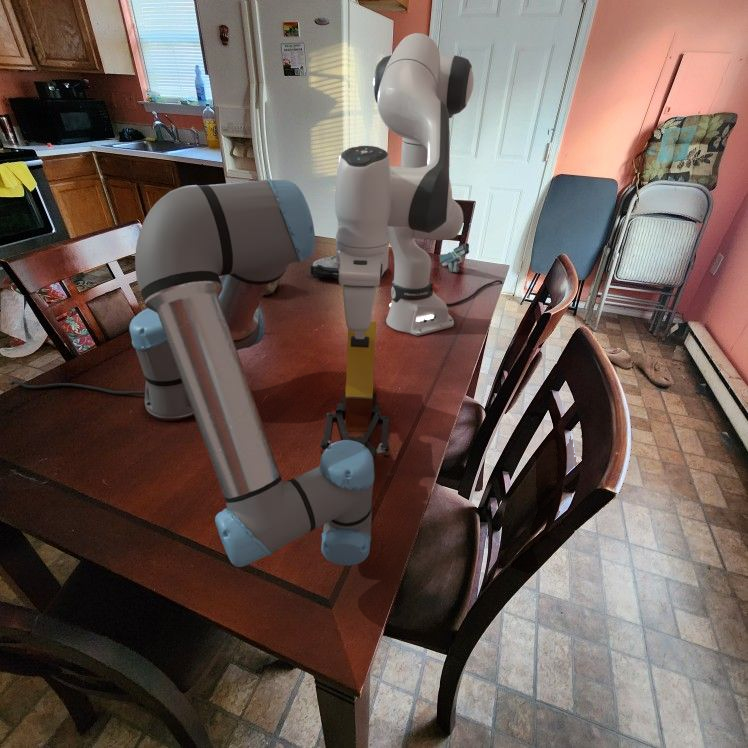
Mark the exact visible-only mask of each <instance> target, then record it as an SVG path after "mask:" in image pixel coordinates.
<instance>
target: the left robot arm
mask: <svg viewBox="0 0 748 748" xmlns="http://www.w3.org/2000/svg"><path fill="white" fill-rule="evenodd" d="M310 209H311V208H310V207H309V204H308V202H307V198H306V197H305V195H304V193H303V191H302V190H301V188H300V187H299V186H298V185H297V184H296V183H294V182H293V181H291V180H289V179H272V178H267V179H261V180H249V181H239V182H227V183H216V184H205V185H204V184H203V185H197V184H194V185H193V184H192V185H184V186H181V187H178V188H175V189H173V190H170V191H168V192H167V193H166V194H165V195H163V196H162V197H161V198H160V199H158V200H157V201H156V202H155V204H153V206H152V207H151V209H149V211H148V213H147V214H146V216H145V218H144V220H143V223H142V225H141V228H140V230H139V233H138V237H137V242H136V246H135V256H134V265H135V277H136V282H137V286H138V289H139V292H140V295H141V298H142V301H143V303H144V305H145V307H146V308H145V309H143V310H141V311H140V312H138V314H136V315H135V316H134V317H133V318H132V319H131V321H130V323H129V329H128V330H129V333H130V337H131V345H132V346H133V348H134V349H135V352H136V355H137V358H138V361H139V364H140V367H141V370H142V373H143V376H144V379H145V389H144V390H142V391H141V390H130V391H129V390H128V391H120V390H112V389H107V388H102V387H97V386H93V385H87V384H81V383H80V384H79V383H72V382H71V383H70V382H60V383H59V382H58V383H49V384H42V385H29V384H26V383H24V382H23V381H22V382H21V381H19V380H16V379H15V380H14V379H13V380H12V381H11V382H10V383H9V385H11V386H14V385H15V384H16V385H18V386H20V387H23V388H25V389H31V390H38V389H39V390H40V389H49V388H57V387H73V388H82V389H87V390H93V391H98V392H103V393H107V394H112V395H121V396H122V395H123V396H125V395H144V406H145V409H146V413H147V414H148V415H149V416H150V417H151V418H153V419H155V420H157V421H162V422H179V421H184V420H188V419H191V418H193V417H194V418H195V421H196V424H197V426H198V429H199V432H200V435H201V438H202V441H203V444H204V447H205V449H206V451H207V454H208V457H209V460H210V462H211V465H212V468H213V471H214V474H215V476H216V480H217V482H218V485H219V487H220V489H221V493H222V495H223V498H224V500H225V504H226V507H225V508H224V509H222V511H219V512H218V513H217V514H216V515H215V518H214V523H215V526H216V528H217V531H218V535H219V538H220V540H221V543H222V546H223V548H224V551H225V554H226V555H227V558H228V559H229V561H230V563H231V564H232V565H233V566H234V567H237V568H243V567H246V566H248V565H250V564H252V563H254V562H257V561H258V560H261V559H263V558H265V557H267V556H271V555H273V553H274V552H276V551H278V550H280V549H281V548H283V547H285V546H287V545H289V544H291V543H293V542H294V541H296V540H297V539H299V538H301V537H302V536H305V535H307V534H308V533H311V532H313V531H314V530H317V529H319V528H321V527H322V526H323V528H322V529H323V530H322V533H321V547H320V549H321V550H320V551H321V554H322V555H323V557H324V558H325V559H326V560H327V561H329V562H330V563H332V564H334V565H338V566H348V567H349V566H351V567H352V566H355V565H359V564H361V563H363V562H364V561H365V560H367V558H368V556H369V555H370V549H371V541H372V515H373V496H374V495H373V492H374V482H375V478H376V477H375V460H376V459H377V457H381V456H382V457H383V458H385V459H388V458H389V457H390V451H391V447H390V444H389V441H388V435H389V422H390V416H389V415H386V414H385V415H382V414H381V411H382V410H381V409H382V407H381V405H380V404H377V403H376V402H377V393H376V392H373V398H372V414H371V423H370V425H369V427H368V429H367V431H364V432H363V435H362V436H357V437H356V436H350V434H349V431H347V429H346V422H345V421H346V391H344V392H343V398H342V403H340V402H339V403H337V405H336V409H335V413H332V412H328V413H326V419H325V428H324V435H323V436H324V437H323V438H322V440H321V441H320V443H319V447H320V448H319V449H320V454H321V457H320V462H319V466H317V467H315V468H313V469H311V470H308V471H307V472H304V473H302V474H299V475H298V476H295V477H293V478H291V479H288V480H287V481H283V478H282V475H281V471H280V469H279V466H278V463H277V460H276V456H275V454H274V452H273V449H272V445H271V443H270V440H269V437H268V434H267V432H266V430H265V427H264V423H263V421H262V418H261V415H260V412H259V409H258V406H257V404H256V401H255V398H254V396H253V393H252V390H251V386H250V384H249V381H248V378H247V374H246V372H245V370H244V367H243V364H242V361H241V358H240V356H239V353H238V350H243V349H249V348H252V347H253V346H255V345H257V344H259V343H260V342H261V341H262V340H263V339H264V335H265V329H264V328H265V319H264V315H263V312H262V310H261V307H260V306H259V305H260V304H261V301H262V299H263V298H264V296H265V295H264V293H265V291H266V289H267V286H268V284H271V283H273V282H275V281H277V280H278V279H279V278H280V279H281V277H282V276H283V275H284V274H285V273H286V271H287V269H288V268H289V265H290V264H293V263H299V264H300V263H303V262H304V261H307V260H309V259H311V258H312V257H313V255H314V253H315V248H316V234H315V233H316V232H315V227H314V220H313V217H312V213H311V210H310ZM21 385H22V386H21ZM335 423H336V427H337V431H338V435H339V438H340V440H337V441H334V442H332V437H333V436H332V435H333V426H334V424H335ZM380 426H381V436H380V439H381V440H380V443H379V444H377V445H378V446H377V448H376V447H374V445H372V441H373V440H374V437H375V435H376V433H377V431H378V429H379V427H380Z"/></svg>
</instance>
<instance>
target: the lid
mask: <svg viewBox="0 0 748 748" xmlns="http://www.w3.org/2000/svg"><path fill="white" fill-rule="evenodd" d="M376 333H377V321H372V320H371V323H370V327H369V330H368V331H365V338H364V339H356V338H355V331H350V330H348V329H347V345H346V347H347V349H346V371H345V373H346V375H345V376H346V377H345V392H346V396H348V397H369V398H372V397H373V393H374V379H373V376H374V377H375V354H376V353H375V352H376V336H377V335H376Z"/></svg>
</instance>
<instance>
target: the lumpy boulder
mask: <svg viewBox="0 0 748 748" xmlns="http://www.w3.org/2000/svg"><path fill="white" fill-rule="evenodd" d="M280 283H281V277H280V278H279V279H278V280H277V281H275V282H273V283H271V284H268V286H267V289H266V291H265V293H264V295H263V296H268V295H270V294H273V293H274V292H275V291H276V289H277V287H279V285H280Z"/></svg>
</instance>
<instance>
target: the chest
mask: <svg viewBox="0 0 748 748" xmlns="http://www.w3.org/2000/svg"><path fill="white" fill-rule="evenodd" d="M374 377H375V375H374V376H373V380H374ZM372 398H373V397H372ZM372 398H369V397H348V396H346V417H345V426H346V429H347V432H366V431H367V429H368V427H369V425H370V423H371V414H372Z"/></svg>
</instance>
